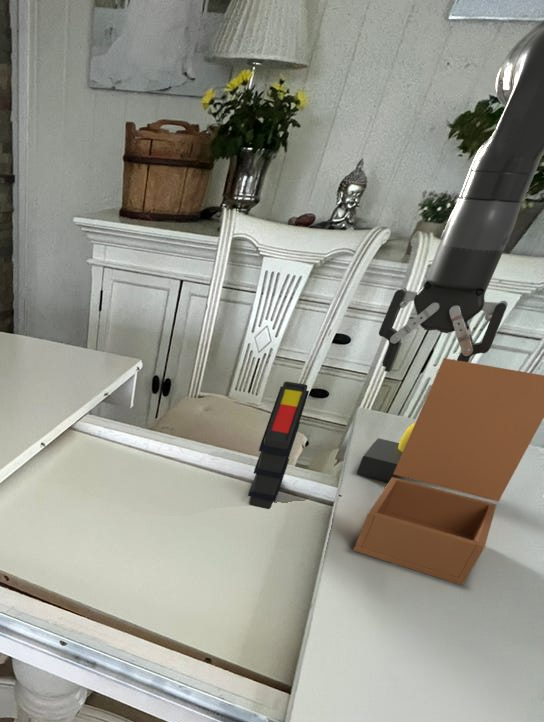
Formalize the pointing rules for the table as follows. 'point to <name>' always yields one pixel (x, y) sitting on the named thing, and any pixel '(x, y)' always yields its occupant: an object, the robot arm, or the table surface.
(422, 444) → the case cover
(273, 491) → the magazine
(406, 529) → the brown case base
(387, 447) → the dark grey block
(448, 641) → the table surface
